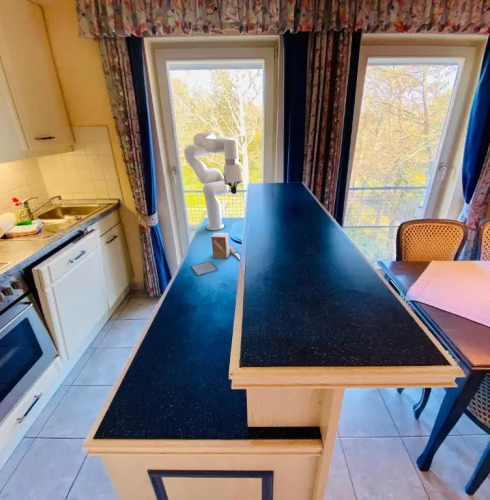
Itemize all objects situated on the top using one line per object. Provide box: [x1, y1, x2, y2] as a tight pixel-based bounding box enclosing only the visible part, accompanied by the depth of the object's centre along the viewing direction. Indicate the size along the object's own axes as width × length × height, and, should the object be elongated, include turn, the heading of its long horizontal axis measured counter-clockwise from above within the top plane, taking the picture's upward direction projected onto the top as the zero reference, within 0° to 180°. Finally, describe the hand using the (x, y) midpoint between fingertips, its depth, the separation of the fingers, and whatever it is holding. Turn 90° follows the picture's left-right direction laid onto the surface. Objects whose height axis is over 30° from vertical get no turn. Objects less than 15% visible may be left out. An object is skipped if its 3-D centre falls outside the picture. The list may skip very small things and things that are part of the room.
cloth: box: [191, 261, 217, 276], centre depth 146 cm, size 10×10×1 cm
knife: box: [229, 245, 241, 261], centre depth 159 cm, size 17×2×2 cm, turn 28°
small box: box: [210, 232, 231, 259], centre depth 156 cm, size 8×6×13 cm
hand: (233, 193), depth 169 cm, fingers closed
